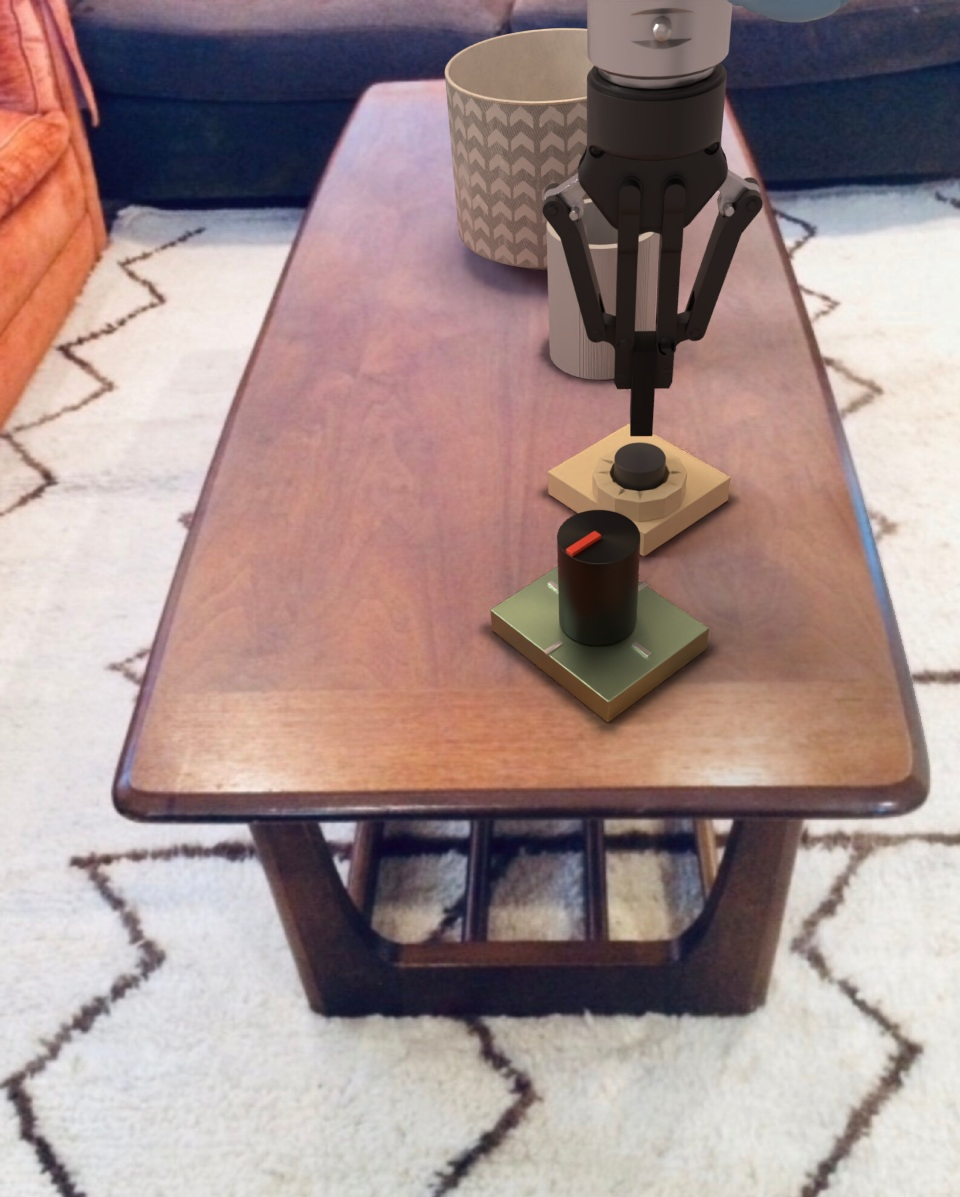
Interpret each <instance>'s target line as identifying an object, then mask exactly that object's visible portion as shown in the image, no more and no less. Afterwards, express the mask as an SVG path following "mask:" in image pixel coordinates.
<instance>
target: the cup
mask: <svg viewBox="0 0 960 1197" xmlns="http://www.w3.org/2000/svg"><path fill="white" fill-rule="evenodd" d="M581 218H582V221H583V225H584V229H585V233H586V237H587V241H588V245H589V248H590V252H591V256H592V260H593V264H594V268H595V272H596V276H597V280H598V283H599V287H600V291H601V295H602V299H603V303H604V307H605V311H606V313H608V314H611V315H614V316H615V314H616V275H617V236H618V230H616V229H615V228H613V227H612V226H611V225H610V224H609V223H608V221H607V220H606V219H605V217H604V216H603V215H602V213H601V212H600V211H599V209H598V208H597V207H596V206H595V204H594V203H593V202H592V200H591V199H586V200H584V214H583V216H582V217H581ZM546 226H547V265H548V270H547V298H548V300H547V301H548V302H547V303H548V304H547V305H548V334H549V335H548V337H549V338H548V340H549V356H550V359H551V362H552V363H553V364H554V365H555V367H557V368H558V369H559V370H561V371H562V372H564V373H566V374H568V375H570V376H573V377H577V378H581V379H584V380H585V379H587V380H596V381H601V380H604V381H605V380H614V362H615V349H614V347H613V346H612V345H611V344H610V343H607V342H604V341H601V342H599V343H594V342H591V341H590V340H589V339H588V337H587V333H586V330H585V326H584V323H583V319H582V315H581V312H580V308H579V304H578V301H577V297H576V293H575V290H574V286H573V282H572V279H571V275H570V271H569V268H568V264H567V261H566V257H565V253H564V250H563V246H562V242H561V239H560V237H559V236H558V234H557V233H556V232H555V230H554V229H553V228H552V226H551V225H550V223H549V222H548V221H547V225H546ZM659 239H660V234H658V233H654V232H647V233H644V234H640V235H639V246H638V263H637V288H636V314H635V331H655V330H656V323H655V322H656V302H657V281H658V260H659Z"/></svg>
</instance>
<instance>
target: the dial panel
mask: <svg viewBox="0 0 960 1197" xmlns="http://www.w3.org/2000/svg"><path fill="white" fill-rule="evenodd" d="M490 622H491V630H492V631H493V633H495V634H496V635H497V636H499V637H500V638H501V639H502V640H504V641H505V642H506V643H508V644H509V645H510V646H511V647H513V648H514V649H515V650H516V651H518V653H520V654H521V655H523V656H524V657H525V658H526V659H527V660H529V661H530V662H531V663H533V664H534V665H535V666H536V667H537V668H539V669H540V670H541V671H542V672H544V673H545V674H546V675H548V676H549V677H550V678H551V679H552V680H554V681H555V682H556V683H558V685H560V686H561V687H562V688H564V689H565V690H566V691H568V692H569V693H570V694H571V695H573V696H574V697H575V698H576V699H578V701H580V702H581V703H582V704H584V705H585V706H586V707H587V708H589V709H590V710H591V711H592V712H594V713H595V714H596V715H597V716H599V717H600V718H601V719H603V720H604V721H605V722H606V723H611V721H612V720H614V719H615V718H617V717H618V716H619V715H620V714H622V713H623V712H624V711H626V710H627V709H628V708H630V707H631V706H633V705H634V704H635V703H637V701H640V700H641V699H642V698H643V697H644V696H646V695H647V694H649V693H650V692H652V691H653V690H654V689H655V688H656V687H658V686H660V685H661V684H662V683H663V682H664V681H666V680H667V679H668V678H670V677H672V676H673V675H674V674H675V673H677V672H678V671H679V670H681V669H682V668H684V667H685V666H686V665H688V664H689V663H690V662H691V661H693V660H694V659H696V658H697V657H698V656H699V655H701V654H702V653H703V652H705V651H706V650H707V648H708V640H709V631H710V628H709V627H708V626H707V625H706V624H704V623H703V622H700V620H698V619H696V618H695V617H694V616H692V615H690V614H689V613H688V612H686V611H685V610H683V609H681V608H680V607H679V606H678V605H676V604H674V603H673V602H672V601H670V600H668V599H667V598H665V597H664V596H663V595H661V594H659V593H658V592H656V591H655V590H654V589H652V588H651V587H650V583H649V582H647V581H644V582H641V581H640V580H639V581H638V602H637V622H636V625H635V627H634V629H633V631H632V632H631V633H630V634H629V635H628V636H627V637H626V638H624V639H622V640H621V641H619V642H616V643H613V644H609V645H602V646H595V645H587V644H583V643H580V642H578V641H576V640H574V639H572V638H571V637H569V636H568V635H567V634H566V633H565V632H564V631H563V629H562V627H561V625H560V622H559V597H558V565H557V566H555V567H554V568H552V569H551V570H549V571H548V572H546V573H544V574H542V576H540V577H538V578H537V579H535V580H533V581H532V582H531V583H529V584H528V585H526V586H524V587H523V588H521V589H520V590H518V591H517V592H515V593H514V594H512V595H511V596H509V597H507V598H506V599H504V600H503V601H501V602H499V603H498V604H496V605H495V606H493V607H492V608H491V609H490Z"/></svg>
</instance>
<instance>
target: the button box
mask: <svg viewBox="0 0 960 1197" xmlns="http://www.w3.org/2000/svg"><path fill="white" fill-rule="evenodd" d="M638 442H642V443H649V444H653V445H655V446H657V447H659V448H660V449H661V450H662V451H663V452H664V454H665V456H666V465H665V478H664V481H663V483H662V484H661V485H660V486H659V487H657V488H656V489H652V490H646V491H634V490H628V489H624V488H622V487H621V486H619V485H618V484H617V483H616V481H615V479H614V457H615V454H616V452H617V451H618V450H619V449H620V448H621V447H623V446H625V445H627V444H631V443H638ZM547 485H548V487H547V488H548V491H547V492H548V495H549V496H551V497H552V498H554V499H556V500H557V501H558V502H560V503H561V504H563V505H565V506H566V507H568V508H569V509H571V510H572V511H574V512H575V513H576V514H578V513H581V512H584V511H589V510H608V511H613V512H617V513H620V514H622V515H624V516H626V517H628V518H629V519H631V520H632V521H633V522H634V523H635V524H636V526H637V527H638V529H639V532H640V556H642V557H645V556H647V555H648V554H650V553H652V552H653V551H654V550H656V549H657V548H659V547H660V546H662V545H663V544H665V543H666V542H668V541H669V540H671V539H672V538H674V537H675V536H677V535H679V534H680V533H681V532H683V531H684V530H686V529H687V528H689V527H690V526H692V525H693V524H695V523H696V522H698V521H699V520H701V519H702V518H704V517H705V516H707V515H708V514H710V513H711V512H713V511H714V510H716V509H717V508H719V507H720V506H722V505H723V504H725V503H726V502H727V501H729V495H730V494H729V493H730V485H731V476H729V475H727V474H725V473H723V472H722V471H720V470H718V469H717V468H715V467H714V466H711V465H709V464H708V463H706V462H705V461H703V460H701V459H699V458H697V457H695V456H693V455H692V454H690V453H688V452H687V451H685V450H683V449H681V448H679V447H678V446H677V445H674V444H673V443H670V442H669V441H668V440H665V439H664V438H662V437H660V436H659V435H657V434H655V433H653V434H652V436H630V422H629V423H627V424H626V425H624V426H623V427H622V426H621V427H620V428H618V429H617V430H616V431H614V432H612V433H610V434H608V435H607V436H605V437H603V438H602V439H600V440H598V441H597V442H595V443H593V444H592V445H590V446H589V447H586V448H585V449H583V450H582V451H580V452H578V453H577V454H575V455H573V456H571V457H570V458H568V459H566V460H565V461H563V462H561V463H560V464H558V465H556V466H555V467H553V468H551V469H550V470H548V471H547Z"/></svg>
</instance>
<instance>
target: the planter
mask: <svg viewBox="0 0 960 1197" xmlns="http://www.w3.org/2000/svg"><path fill="white" fill-rule="evenodd" d="M593 66H594V65H593V64H592V62H591V61H590V60H589V59H588V58H587V28H580V27H579V28H578V27H559V28H558V27H557V28H542V29H532V30H523V31H517V32H512V33H507V34H502V35H499V36H495V37H491V38H487V39H485V40H482V41H478V42H476V43H474V44H472V45H469V46H468V47H465V48H463V49H462V50H460V51H459V52H457V53H456V54H454V56H452V57H451V59H449V61H448V62H447V63H446V65H445V69H444V81H445V92H446V105H447V114H448V115H447V116H448V126H449V128H448V129H449V138H450V139H449V140H450V149H451V159H452V160H451V161H452V173H453V183H454V184H453V185H454V196H455V207H456V220H457V231H458V236H459V237H460V239H461V242H462V243H463V244H464V245H465V246H466V247H467V248H468V249H469V250H470V251H472V252H473V253H475V254H476V255H478V256H480V257H482V258H484V259H486V260H489V261H492V262H495V263H498V264H503V265H506V266H510V267H511V266H512V267H518V268H523V269H528V270H537V271H548V265H547V226H546V225H547V219H546V218H545V217H544V215H543V200H544V191H545V188H546V187H547V186H548V185H549V184H551V183H557V184H560V185H561V184H562V183H564V182H565V181H567V180H568V179H570V178H571V177H573V176H574V175H575V174H577V173H578V166H579V162H580V159H581V157H582V155H583V154H584V152H585V149H586V146H587V75H588V73H589V71H590V70H591V69H592V67H593ZM586 199H590V198H589V196H588V195H587V194H585V195H584V197H583V200H586Z"/></svg>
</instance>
